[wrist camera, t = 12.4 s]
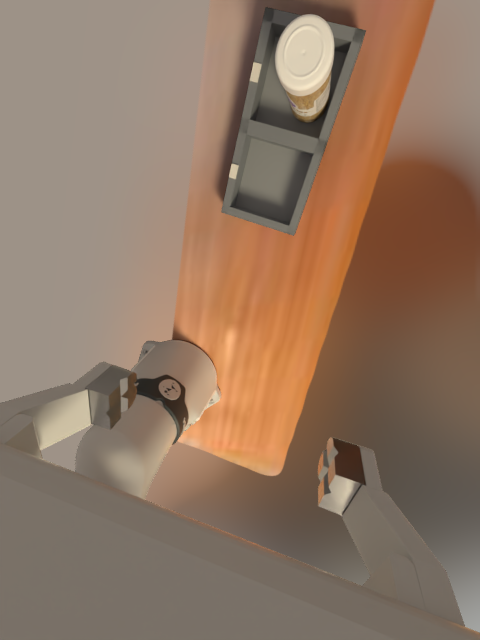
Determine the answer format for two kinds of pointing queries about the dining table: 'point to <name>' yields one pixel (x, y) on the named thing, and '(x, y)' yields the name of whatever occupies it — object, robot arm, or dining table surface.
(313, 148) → the grey divided tray
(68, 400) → the robot arm
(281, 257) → the dining table surface
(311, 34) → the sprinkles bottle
